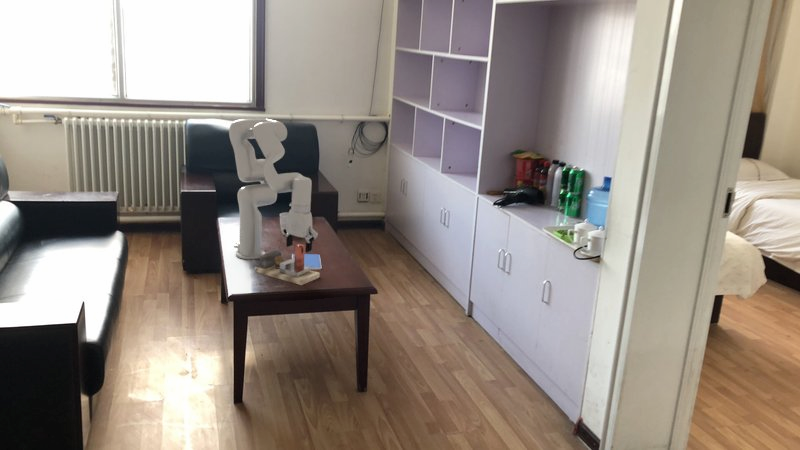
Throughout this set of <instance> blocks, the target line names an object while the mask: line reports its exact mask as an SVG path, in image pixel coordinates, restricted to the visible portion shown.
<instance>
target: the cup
mask: <svg viewBox="0 0 800 450" xmlns="http://www.w3.org/2000/svg"><path fill="white" fill-rule="evenodd" d="M288 214H289V212H282V213H279V225H280V230H281V231H280V232H281V233H282V235H283V236H285V233H284V231H283V227H282V225H283V224H286V223H287V218H288Z"/></svg>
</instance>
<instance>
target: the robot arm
mask: <svg viewBox="0 0 800 450" xmlns="http://www.w3.org/2000/svg"><path fill="white" fill-rule="evenodd" d="M228 133H229V134H228V135H229V139H230V143H231V146H232V148H233V152H234V158H235V166H236V172H237V177H238V179H239V180H240V181H241V182H242V183H254V182H260V184H259V183H258V184H251V185H245V186H242V187H241V188H239V189H238V191H237V203H238V208H239V241H237V242H235V244H234V245H233V247H234V249H237V250H236V252H235V256H236V257H238V258H240V259H242V260H243V259H244V260H257V259H259V260H260V256H261V255H264V254H266V251H264V250H262V245H263V244H262V240H263V239H262V238H263V237H262V235H263V234H262V233H263V216H262V213H261V211H259V209H258V207H264V206H268V205H272V204H275V203H276V201H277V198H278V194H282V193H283V194H285V193H291V202H290V203H289V206H290V207H291V208H290V209H289V211H288V213H289V214H288V218H287V223H286V224H283V225H282V227H283V231H284V233H285V235H284V236H285V237H286V242H285V243H286V247H287V248H288V247H291V246H293V243H294V242H293V241H294V239H293V238H294V237H297V238H301V239H305V241H306V242H305V253H309V252H311V251H312V249H313V242H314V241H315V240H316V239H317V237H318V235H319V233H318V232H317V231H316V230H315V229H314V228H313V216H312V212H311V203H312V185H313V184H312V183H313V182H312V179H311V178H310V177H308V176H307V177H306V176H304V175H302V174H301V173H299V172H285V173H278V171H276V168H275V166H274V163H276V162H277V161H279V160H280V159H282V158H283V157H284V155H285V153H286V151H285V150H286V149H285V148H284V146H283V144H282V142H283V141H285V140H286V139H287V137H288V129H287V127H286V126H285V124H284V123H283V122H281V121H279V120H274V119H270V118H263V117H262V118H261V117H260V118H241V119H236V120H233V122H232V123H231V124H230V126H229V130H228ZM253 139H255V141H256V142H257V145H258V147H259V149H260V150H261V152H262V154H263V156H264V157H265V158H259V159H258V158H257V157H256V152H255V148H254V146H253V145H252V144H251V143H250V141H249V140H253ZM293 236H294V237H293Z"/></svg>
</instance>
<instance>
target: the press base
mask: <svg viewBox="0 0 800 450" xmlns="http://www.w3.org/2000/svg"><path fill="white" fill-rule="evenodd" d="M284 261H285V259H284V257H283V256H282V251H278V250H273V251H270V252H267V253H265V254H264V255H261V256H260V258H259V267H256V272H257V273H259V274H260V275H265V276H269V277H272V278H275V279H279V280H282V281H285V282H288V283H293V284H297V285H299V286H303V285H305V284H307V283H310V282H312V281H314V280H315V281H316V280H318V279H319V278H320V274H321V273H320V272H318V271H316V270H311V271H310V272H307V273H305V274H303V275H300V276H298V277H296V276H292V275H289V274H285V273H282V272H279V271H280V263H282V262H284Z"/></svg>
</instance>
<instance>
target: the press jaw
mask: <svg viewBox="0 0 800 450" xmlns="http://www.w3.org/2000/svg"><path fill="white" fill-rule="evenodd" d="M305 250H306V244H303V243H297V244H294V254H295V258H292V257H291V258H290V259H287V260H284V262H282V263H280V271H279V272H282V273H285V274H289V275H292V276H296V277H298V276H300V275H303V274H305V273H307V272H310V271H312V269H311V267H307V266H304V258H305V254H306V251H305Z"/></svg>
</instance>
